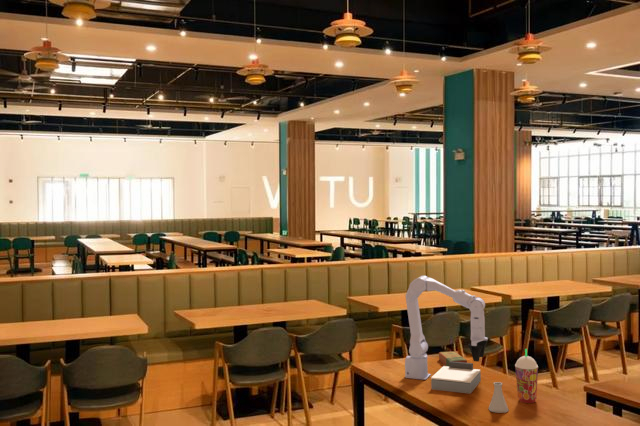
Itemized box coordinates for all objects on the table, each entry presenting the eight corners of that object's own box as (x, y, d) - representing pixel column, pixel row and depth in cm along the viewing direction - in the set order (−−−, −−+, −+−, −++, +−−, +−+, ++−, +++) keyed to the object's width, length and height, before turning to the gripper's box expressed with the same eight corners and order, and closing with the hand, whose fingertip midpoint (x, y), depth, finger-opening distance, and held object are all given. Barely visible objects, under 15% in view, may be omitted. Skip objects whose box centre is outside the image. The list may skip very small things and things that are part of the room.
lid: (431, 378, 262) (430, 371, 262) (443, 367, 278) (443, 360, 278) (470, 383, 255) (469, 375, 255) (480, 370, 271) (480, 363, 271)
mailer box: (431, 389, 262) (431, 379, 262) (443, 377, 278) (443, 368, 278) (470, 393, 255) (470, 383, 255) (480, 381, 271) (480, 371, 271)
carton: (455, 359, 307) (455, 350, 307) (467, 368, 292) (467, 359, 291) (438, 360, 306) (438, 351, 306) (450, 369, 290) (449, 360, 290)
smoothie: (511, 399, 246) (509, 348, 246) (528, 396, 250) (527, 345, 249) (526, 405, 239) (524, 352, 238) (543, 402, 242) (542, 349, 241)
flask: (509, 407, 238) (508, 381, 237) (508, 414, 231) (507, 386, 230) (489, 406, 240) (488, 379, 240) (487, 412, 233) (486, 385, 233)
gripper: (483, 331, 261) (484, 364, 261) (491, 324, 274) (491, 355, 274) (466, 330, 264) (466, 362, 265) (474, 323, 277) (475, 354, 277)
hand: (478, 359), depth 270 cm, fingers open, 7 cm apart
